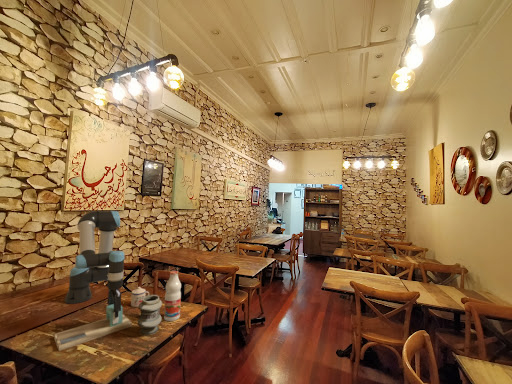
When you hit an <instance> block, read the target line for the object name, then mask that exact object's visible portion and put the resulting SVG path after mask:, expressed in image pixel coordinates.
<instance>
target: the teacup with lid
mask: <svg viewBox="0 0 512 384" xmlns="http://www.w3.org/2000/svg"><path fill="white" fill-rule="evenodd" d="M146 293H147V294H146ZM149 295H150V292H149V291H147V290H146V288H142V287H141V286H138V287H136V288H135V289H133V290H132V291H131V295H130V297H131V299H130V307H132V308H139V304H140V303H141V302H142V300H143V298H144V297H146V296H149Z"/></svg>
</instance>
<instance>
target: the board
mask: <svg viewBox="0 0 512 384" xmlns="http://www.w3.org/2000/svg"><path fill="white" fill-rule="evenodd" d="M132 326H133V322H132V321H131V320H130V319H129V318H128V317H127V316H126V315H125V314H124V313H123V320H122V323H121V324H118V325H115V326H112V327H110V319H107V320H106V318H103V319H100V320H97V321H93V322H90V323H86V324H83V325H79V326H77V327H76V326H75V327H73V328H69V329H66V330H63V331H59V332H56V333H54V334H53V339H54V342H55V345H56V348H57V350H58V352H61V351H64V350H67V349H70V348H73V347H75V346H78V345H81V344H83V343H84V344H85V343H87V342H89V341H93V340H96V339H98V338H102V337H104V336H107V335H110V334H113V333H117V332H119V331H122V330H125V329H128V328H131V327H132Z"/></svg>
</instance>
